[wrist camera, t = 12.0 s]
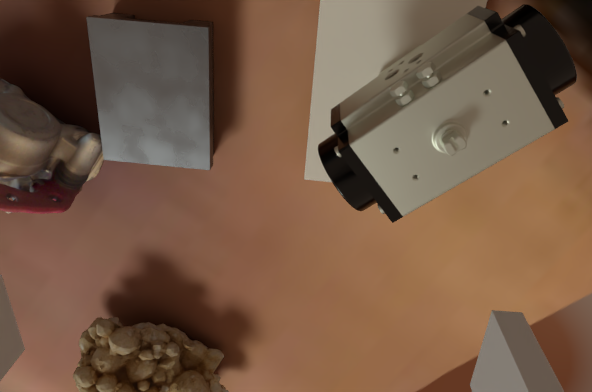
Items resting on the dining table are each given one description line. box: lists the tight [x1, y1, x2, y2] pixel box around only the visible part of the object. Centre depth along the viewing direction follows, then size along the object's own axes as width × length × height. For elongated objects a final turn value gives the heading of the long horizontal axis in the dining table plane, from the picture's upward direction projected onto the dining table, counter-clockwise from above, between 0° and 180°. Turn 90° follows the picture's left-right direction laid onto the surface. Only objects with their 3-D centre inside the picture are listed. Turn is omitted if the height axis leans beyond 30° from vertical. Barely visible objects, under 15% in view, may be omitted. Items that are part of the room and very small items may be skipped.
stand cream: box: [304, 0, 487, 182], centre depth 32 cm, size 16×10×3 cm, turn 176°
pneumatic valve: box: [318, 5, 577, 223], centre depth 25 cm, size 6×12×12 cm, turn 128°
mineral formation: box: [73, 317, 229, 392], centre depth 44 cm, size 8×13×15 cm
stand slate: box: [86, 13, 214, 170], centre depth 34 cm, size 10×8×3 cm
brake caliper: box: [0, 79, 104, 214], centre depth 34 cm, size 11×11×12 cm
